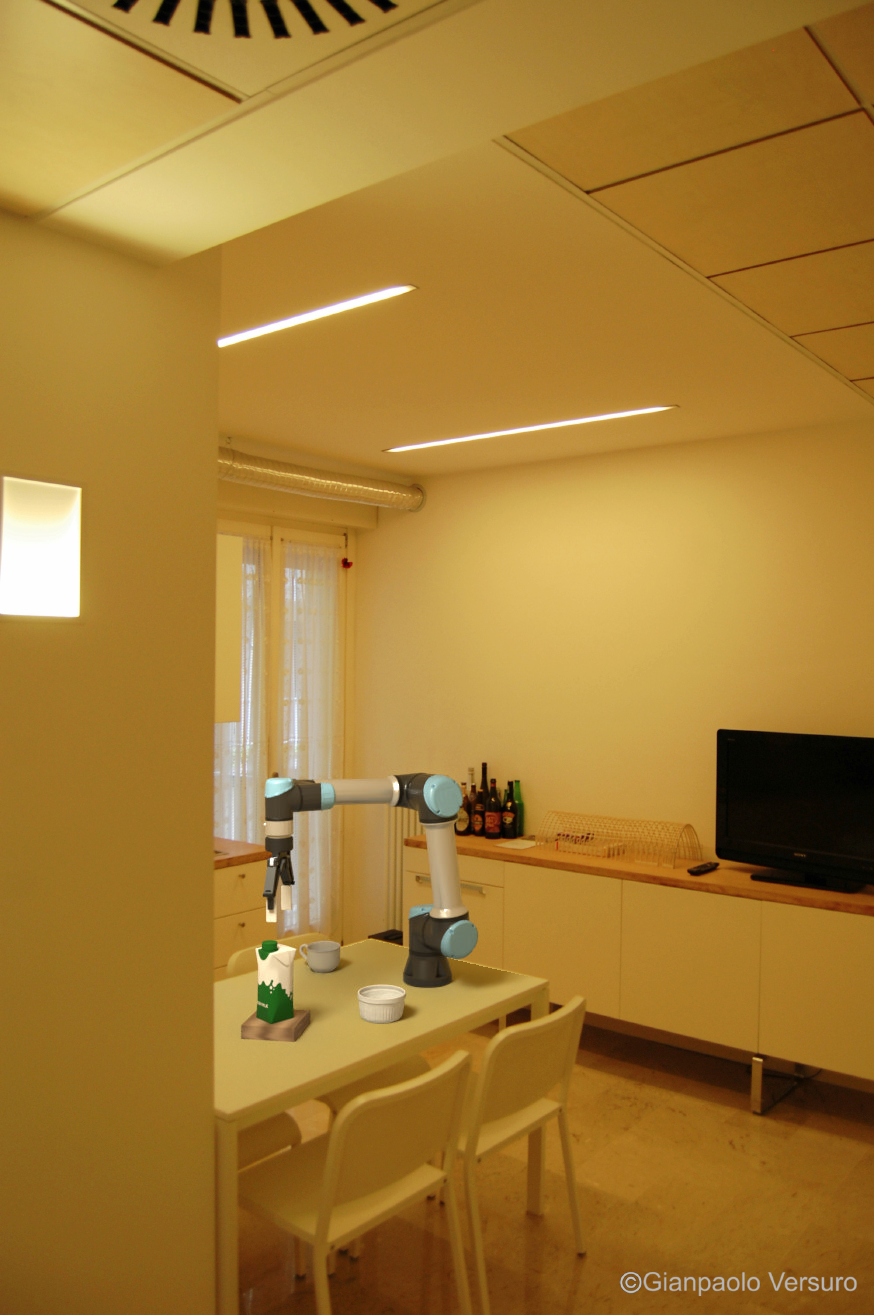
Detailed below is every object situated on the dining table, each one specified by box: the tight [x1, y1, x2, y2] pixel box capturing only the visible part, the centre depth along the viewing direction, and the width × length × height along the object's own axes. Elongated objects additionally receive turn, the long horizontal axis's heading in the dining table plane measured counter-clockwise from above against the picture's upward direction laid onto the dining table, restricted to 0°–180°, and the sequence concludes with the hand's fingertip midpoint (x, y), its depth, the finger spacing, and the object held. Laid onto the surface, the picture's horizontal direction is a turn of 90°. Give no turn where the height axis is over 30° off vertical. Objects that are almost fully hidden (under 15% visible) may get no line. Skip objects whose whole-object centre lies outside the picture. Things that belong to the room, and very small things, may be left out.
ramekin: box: [357, 984, 407, 1024], centre depth 262 cm, size 13×13×7 cm
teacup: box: [298, 940, 341, 974], centre depth 306 cm, size 14×11×8 cm
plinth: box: [240, 1009, 311, 1043], centre depth 251 cm, size 14×14×4 cm
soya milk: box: [255, 939, 297, 1024], centre depth 251 cm, size 9×9×20 cm
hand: (279, 915), depth 256 cm, fingers open, 13 cm apart
